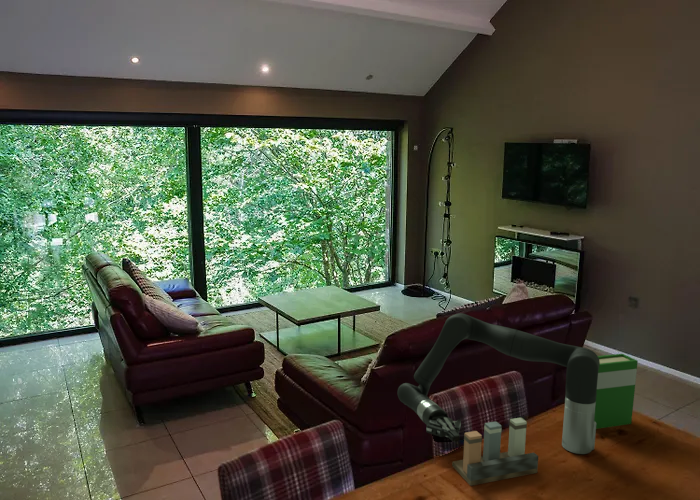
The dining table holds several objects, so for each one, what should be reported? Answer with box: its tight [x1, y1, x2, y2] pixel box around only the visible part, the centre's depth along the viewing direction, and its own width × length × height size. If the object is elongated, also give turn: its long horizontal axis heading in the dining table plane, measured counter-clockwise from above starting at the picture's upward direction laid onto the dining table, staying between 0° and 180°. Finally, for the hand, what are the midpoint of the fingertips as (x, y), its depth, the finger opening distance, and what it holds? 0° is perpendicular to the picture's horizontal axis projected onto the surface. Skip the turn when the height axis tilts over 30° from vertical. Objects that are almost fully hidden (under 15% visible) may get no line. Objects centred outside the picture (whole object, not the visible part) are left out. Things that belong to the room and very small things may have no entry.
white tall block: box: [507, 417, 528, 457], centre depth 174 cm, size 4×3×12 cm
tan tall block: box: [462, 430, 483, 474], centre depth 165 cm, size 4×3×12 cm
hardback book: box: [594, 353, 639, 430], centre depth 200 cm, size 18×7×24 cm, turn 106°
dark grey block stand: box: [451, 451, 539, 487], centre depth 170 cm, size 23×11×6 cm, turn 108°
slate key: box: [482, 421, 503, 461], centre depth 172 cm, size 4×3×12 cm
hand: (456, 439), depth 174 cm, fingers closed
